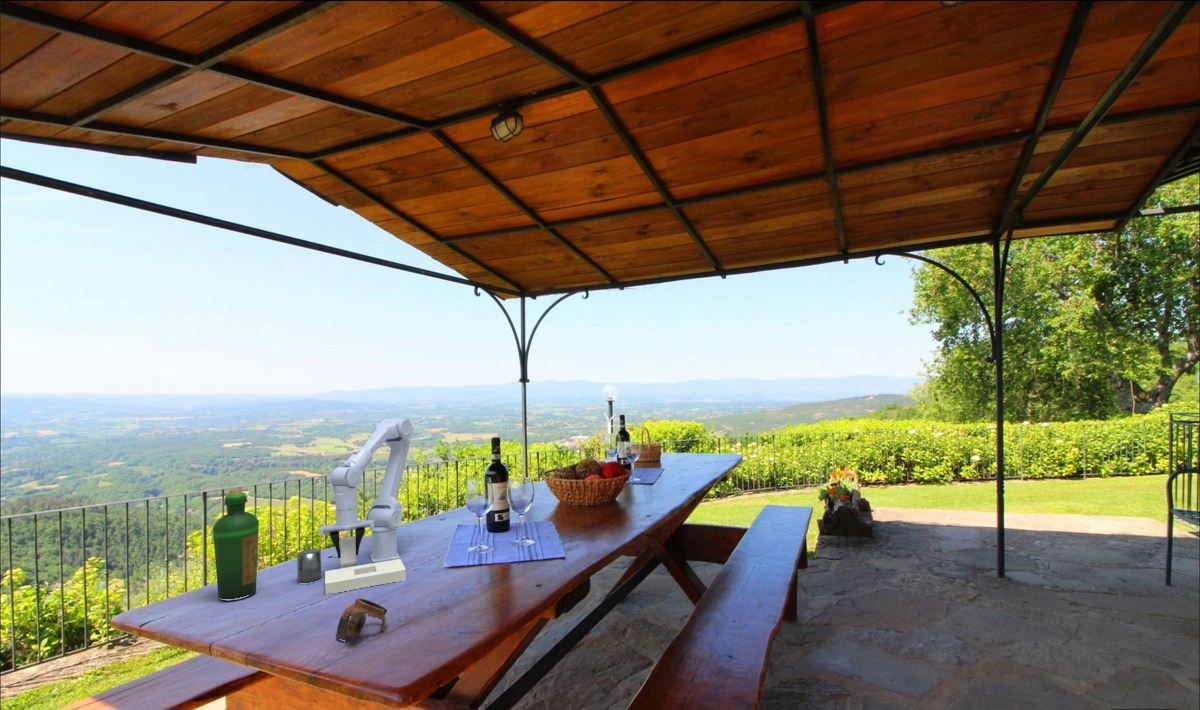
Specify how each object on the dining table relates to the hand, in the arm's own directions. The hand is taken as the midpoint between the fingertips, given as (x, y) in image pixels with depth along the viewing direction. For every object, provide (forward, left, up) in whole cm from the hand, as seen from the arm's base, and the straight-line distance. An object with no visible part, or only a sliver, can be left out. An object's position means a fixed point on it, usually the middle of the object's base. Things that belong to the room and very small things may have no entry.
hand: (348, 555), depth 168 cm
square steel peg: (0, 0, -3) cm, 3 cm away
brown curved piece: (+48, +1, -6) cm, 48 cm away
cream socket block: (+10, +4, -5) cm, 12 cm away
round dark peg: (0, -10, -5) cm, 11 cm away
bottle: (+3, -27, -5) cm, 28 cm away
